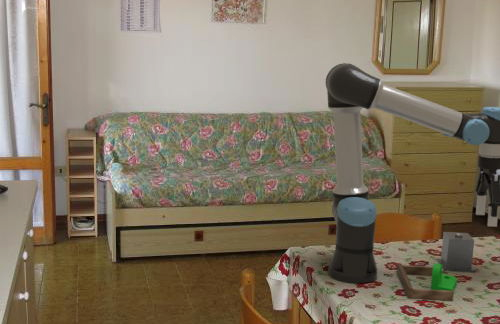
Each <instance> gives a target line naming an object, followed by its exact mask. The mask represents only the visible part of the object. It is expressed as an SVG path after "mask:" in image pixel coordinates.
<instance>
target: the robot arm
mask: <svg viewBox="0 0 500 324" xmlns="http://www.w3.org/2000/svg"><path fill="white" fill-rule="evenodd" d="M382 81H383V80H382V79H381V78H378V77H377V76H373V75H371V74H369V73H367V72H365V71H364V70H362V69H361V68H360V67H358V66H356V65H354V64H352V63H345V62H342V63H339V64H336V65H335V66H333V67H332V68H330V70H329V71H328V73H327V75H326V77H325V87H326V92H327V93H326V94H327V106H328V107H327V108H328V109H329V110H330V111H331V112H332V113H333V115H332V116H333V131H334V132H333V133H334V137H333V138H334V152H335V171H336V173H335V175H336V185H335V187H334V188H333V189H332V206H331V208H332V210H331V211H332V216H333V218H334V221H335V225H336V232H335V234H336V235H335V247H334V248H335V249H334V252H333V254H332V256H331V258H330V261H329V263H328V268H327V269H328V271H327V273H328V276H329V277H331V278H333V279H335V280H338V281H341V282H345V283H351V284H352V283H353V284H365V283H370V282H371V283H372V282H373V281H375V280H376V279H377V278H378V267H377V263H376V259H375V256H374V255H375V254H374V247H375V246H374V244H375V234H376V233H375V232H376V231H375V230H376V219H377V216H378V215H377V207H376V204H375V203H374V202H373V201H372V200H370V195H369V192H370V191H369V188H368V187H367V186H366V184H365V183H364V166H363V164H364V163H363V162H364V161H363V143H362V141H363V140H362V122H361V121H362V119H361V118H362V117H361V116H362V115H361V111H362V110H363V108H364V109H366V110H371V109H376V110H379V111H381V112H384V113H387V114H389V115H392V116H395V117H398V118H401V119H404V120H406V121H408V122H409V121H410V122H411V123H413V124H414V123H415V124H417V125H420V126H423V127H425V128H428V129H431V130H434V131H437V132H439V133H442V135H443V136H444V137H448V138H454V139H458V140H460V141H463V142H466V144H469V145H471V146H472V145H473V146H478V145H479V147H478V154H479V156H478V159H477V167H478V168H479V174H478V179H477V182H476V186H475V193H476V206H475V207H476V209H475V215H476V216H485V215H486V204H487V203H486V202H487V201H486V200H487V195H488V199H489V203H488V204H487V207H488V214H487V225H486V226H487V227H496V228H497V227H498V218H499V217H498V216H499V207H500V174H497V173H498V170H500V106H484V107H483V108H482V110H481V112H478V113H469V112H468V113H467V112H460V111H458V110H456V109H455V110H454V109H452V108H449V107H446V106H444V105H441V104H439V103H436V102H433V101H430V100H429V99H426V98H422V97H420V96H417V95H414V94H411V93H408V92H406V91H404V90H401V89H397V88H396V87H392V86H390V85H387V84H385V83H383V82H382ZM487 191H488V192H487Z"/></svg>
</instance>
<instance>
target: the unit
mask: <svg viewBox="0 0 500 324" xmlns="http://www.w3.org/2000/svg"><path fill="white" fill-rule="evenodd" d="M442 233H443V234H442V244H441V245H442V246H441V255H440V258H437V259H436V261H437V262H438V264H442V271H449V272H450V271H451V272H463V273H464V272H466V273H468V272H469V273H476V269H475V268H474V267H473V255H474V248H475V247H474V246H475V239H474V238H473V237H472V236H471V235H470V234H469V232H454V231H443V232H442Z"/></svg>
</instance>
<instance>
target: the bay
mask: <svg viewBox="0 0 500 324" xmlns="http://www.w3.org/2000/svg"><path fill="white" fill-rule="evenodd" d="M432 271H433V266H427V265H425V266H424V265H408V264H402V263H401V262H399V263H397V265H396V274H397V276H398V278H399V280H400V283H401V285H402V287H403V290H404V292H405V294H406V298H408V299H418V300H419V299H420V300H421V299H422V300H433V301H434V300H437V301H454V295H455V293H454V291H447V290H431V289H430V288H429V289H427V288H426V289H425V288H414V286H413V285H412V283H411V281H410V278H409V277H408V275H417V276H432Z"/></svg>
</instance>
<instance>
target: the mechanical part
mask: <svg viewBox="0 0 500 324" xmlns="http://www.w3.org/2000/svg"><path fill="white" fill-rule="evenodd" d="M432 267H433V271H432V275H431V281H430V290H447V291H453V292H454V291H455V289H456V287H457V283H458V278H457V277H456V276H454V275H451V274H450V275H449V274H445V273H443V269H442V264H439V262H438V263H437V262H435V263H433V266H432Z"/></svg>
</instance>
